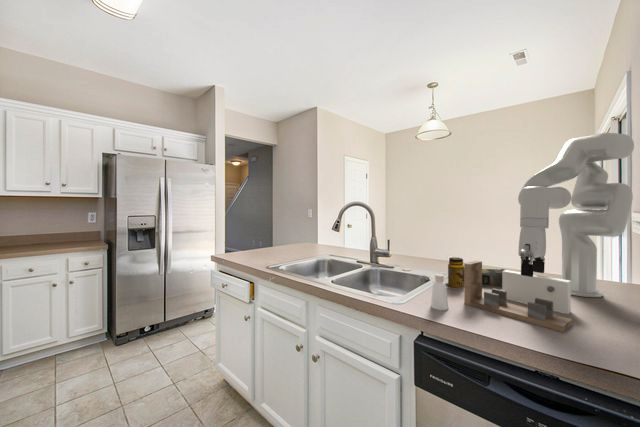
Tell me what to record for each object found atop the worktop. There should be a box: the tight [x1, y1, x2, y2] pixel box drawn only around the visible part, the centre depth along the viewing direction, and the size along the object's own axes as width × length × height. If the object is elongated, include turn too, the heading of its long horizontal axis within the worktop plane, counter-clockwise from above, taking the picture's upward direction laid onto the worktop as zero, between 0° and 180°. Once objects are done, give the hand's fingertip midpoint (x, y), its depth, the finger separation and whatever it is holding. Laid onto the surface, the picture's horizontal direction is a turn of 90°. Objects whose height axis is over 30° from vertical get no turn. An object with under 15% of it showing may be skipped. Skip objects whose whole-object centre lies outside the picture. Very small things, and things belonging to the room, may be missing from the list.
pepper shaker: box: [430, 273, 449, 311], centre depth 90 cm, size 5×5×11 cm
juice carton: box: [482, 268, 505, 287], centre depth 117 cm, size 20×10×6 cm, turn 75°
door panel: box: [501, 269, 572, 315], centre depth 91 cm, size 4×18×10 cm, turn 34°
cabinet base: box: [463, 260, 573, 333], centre depth 84 cm, size 8×26×14 cm, turn 34°
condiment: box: [444, 256, 464, 290], centre depth 112 cm, size 7×8×12 cm
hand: (532, 274), depth 90 cm, fingers open, 9 cm apart
